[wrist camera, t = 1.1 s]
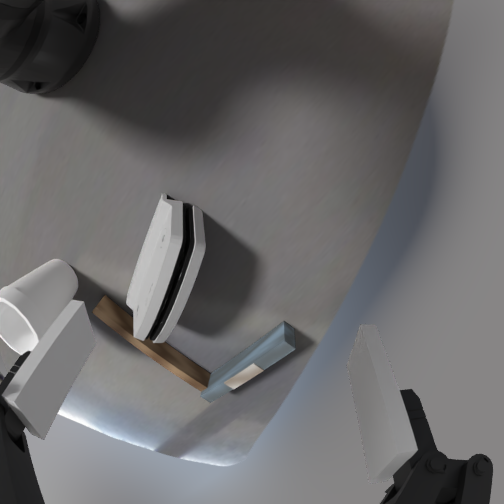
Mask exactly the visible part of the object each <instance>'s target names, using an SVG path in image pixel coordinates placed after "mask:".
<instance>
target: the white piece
mask: <svg viewBox="0 0 504 504" xmlns="http://www.w3.org/2000/svg"><path fill="white" fill-rule="evenodd" d="M205 249H206V243H205V233H204V223H203V213H202V210H201V209H199V208H198V207H196V206H194V205H193V207H192V208H190V207H189V209H188V211H187V213H185V206H184V205H183V201H176V200H169V199H167V194H164V193H162V196H161V198H160V201H159V204H158V206H157V209H156V211H155V214H154V217H153V219H152V222H151V225H150V228H149V230H148V233H147V236H146V239H145V242H144V245H143V247H142V250H141V253H140V256H139V259H138V262H137V265H136V268H135V271H134V275H133V278H132V281H131V284H130V287H129V291H128V294H127V301H126V304H127V305H128V306H129V307H130V308H131V309H132V310H133V328H134V337H135V338H137V339H140V340H142V341H144V340H145V339H148V338H149V336H150V340H152V341H153V343H164V342H165V340H166V339H167V338H168V337H169V335H170V334H171V332H172V330H173V329H174V327H175V325H176V323H177V321H178V319H179V317H180V315H181V314H182V311H183V309H184V307H185V305H186V302H187V300H188V297H189V295H190V293H191V290H192V288H193V285H194V282H195V280H196V277H197V274H198V271H199V268H200V265H201V262H202V259H203V256H204V254H205Z"/></svg>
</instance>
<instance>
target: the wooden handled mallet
mask: <svg viewBox="0 0 504 504" xmlns="http://www.w3.org/2000/svg"><path fill="white" fill-rule="evenodd" d="M92 313H93V314H95V315H96V316H97V317H98V318H99V319H101V320H102V321H103V322H104V323H106V324H107V325H108V326H109V327H111V328H112V329H113V330H114V331H116V332H117V333H118V334H119V335H121V336H122V337H123V338H125V339H126V340H127V341H129V342H130V343H131V344H132V345H134V346H135V347H137V348H138V349H139V350H141V351H142V352H143V353H145V354H146V355H147V356H149V357H150V358H152V359H153V360H154V361H156V362H157V363H159V364H160V365H162V366H163V367H165V368H166V369H167V370H169V371H170V372H172V373H173V374H175V375H176V376H178V377H179V378H181V379H182V380H184V381H186V382H187V383H189V384H190V385H192V386H193V387H195V388H196V389H198V390H200V391H201V396H200V397H202V398H204V399H205V400H207V401H209V402H210V403H211V402H213V401H214V400H216V399H218V398H220V397H221V396H223V395H225V394H226V393H228V392H230V391H231V390H233V389H235V388H237V387H239V386H240V385H242V384H243V383H245V382H247V381H248V380H250V379H251V378H253V377H255V376H256V375H258V374H259V373H261V372H262V371H264V370H265V369H267V368H268V367H270V366H271V365H273V364H274V363H276V362H277V361H279V360H280V359H282V358H283V357H285V356H286V355H288V354H289V353H291V352H292V351H294V350H295V349H296V348H295V334H294V329H293V328H292V327H291V326H290V325H288V324H287V323H286V322H285V321H283V322H282V323H281V324H279V325H278V326H277V327H275V328H274V329H273V330H271V331H270V332H269V333H267V334H266V335H265V336H263V337H262V338H260V339H259V340H258V341H256V342H255V343H254V344H252V345H251V346H249V347H248V348H247V349H245V350H244V351H242V352H241V353H240V354H238V355H237V356H235V357H234V358H233V359H231V360H230V361H228V362H227V363H225V364H224V365H223V366H221V367H220V368H218V369H217V370H215V371H214V372H212V373H211V374H210V373H209V372H207V371H206V370H204V369H203V368H201V367H200V366H198V365H197V364H195V363H194V362H192V361H191V360H189V359H188V358H187V357H185V356H184V355H182V354H181V353H179V352H178V351H177V350H175V349H174V348H172V347H171V346H170V345H168V344H167V343H166V342H164V343H153V341H152V340H150V336H149V338H148V339H145V340H144V341H142V340H140V339H137V338H135V337H134V328H133V317H131V316H130V315H129V314H128V313H126V312H125V311H124V310H123V309H122V308H120V307H119V306H118V305H117V304H115V303H114V302H113V301H112V300H111V299H109V298H108V297H107V296H106V295H105V296H104V297H103V298H102V299H101V301H100V302H99V303H98V305H97V306H96V307H95V309H94V310H93V311H92Z"/></svg>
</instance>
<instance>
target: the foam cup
mask: <svg viewBox="0 0 504 504" xmlns="http://www.w3.org/2000/svg"><path fill="white" fill-rule="evenodd" d="M77 289H78V278H77V276H76V274H75V272H74V270H73V269H72V268H71V267H70V266H69V265H68V264H67V263H66V262H64V261H62V260H60V259H52V260H50V261H49V262H47V263H45V264H43V265H42V266H40V267H38V268H37V269H35V270H33V271H32V272H30V273H28V274H27V275H25V276H23V277H22V278H20V279H18V280H17V281H15V282H14V283H12V284H10V285H9V286H7V287H3V288H2V289H1V290H0V337H1V338H2V339H3V340H4V341H5V343H6V344H7V345H8V346H9V347H10V348H11V349H13V350H14V351H16V352H17V353H19V354H20V355H23V354H24V353H25V352H27V351H31V352H32V350H33V349H34V348H35V346H36V345H37V344H38V342H39V341H40V340H41V338H42V337H43V336H44V334H45V333H46V332H47V330H48V329H49V328H50V326H51V325H52V324H53V323H54V321H55V320H56V319H57V317H58V316H59V315H60V314H61V312H62V311H63V310H64V309H65V307H66V306H67V305H68V304H69V302H70V301H71V300H72V299H73V297H74V295H75V293H76V292H77Z"/></svg>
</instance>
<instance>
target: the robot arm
mask: <svg viewBox="0 0 504 504" xmlns="http://www.w3.org/2000/svg"><path fill="white" fill-rule="evenodd" d="M99 22H100V14H99V7H98V4H97V1H96V0H0V82H1V83H3V84H5V85H7V86H9V87H12V88H14V89H16V90H18V91H20V92H23V93H29V94H35V93H47V92H50V91H53V90H55V89H57V88H59V87H61V86H62V85H64V84H65V83H66V82H68V81H69V80H70V79H71V78H72V77H73V76H74V75H75V74H76V73H77V72H78V71H79V69H80V68H81V67H82V65H83V64H84V62H85V61H86V59H87V58H88V56H89V54H90V52H91V50H92V48H93V46H94V43H95V40H96V37H97V34H98V29H99ZM96 343H97V342H96V339H95V336H94V333H93V330H92V327H91V324H90V320H89V317H88V314H87V311H86V307H85V304H84V301H77V300H71V301H70V302H69V304H68V305H67V306H66V307H65V309H64V310H63V311H62V312H61V314H60V315H59V316H58V317H57V319H56V320H55V321H54V323H53V324H52V325H51V326H50V328H49V329H48V330H47V332H46V333H45V334H44V336H43V337H42V338H41V340H40V341H39V342H38V344H37V345H36V346H35V348H34V349H33V350H32V352H31V351H27V352H25V353H24V354H23V355H21V356H20V357H19V358H18V360H17V361H16V363H15V364H14V366H13V367H12V368H11V370H10V372H8V374H7V375H6V377H5V378H4V380H3V381H2V383H1V384H0V504H45V503H44V500H43V497H42V494H41V491H40V488H39V485H38V482H37V478H36V475H35V471H34V468H33V464H32V460H31V457H30V453H29V448H28V444H27V440H26V436H25V433H24V432H23V430H24V428H25V427H26V428H27V429H28V431H29V432H30V433H31V434H32V435H34V436H37V437H39V438H41V439H43V440H44V439H45V437H46V435H47V433H48V431H49V429H50V427H51V425H52V423H53V421H54V419H55V417H56V415H57V413H58V411H59V409H60V407H61V405H62V403H63V402H64V400H65V398H66V396H67V394H68V392H69V390H70V389H71V387H72V385H73V383H74V381H75V380H76V378H77V376H78V374H79V372H80V371H81V369H82V367H83V365H84V364H85V362H86V360H87V358H88V357H89V355H90V353H91V352H92V350H93V348H94V347H95V345H96ZM347 371H348V375H349V380H350V384H351V389H352V394H353V398H354V403H355V408H356V413H357V418H358V423H359V428H360V433H361V439H362V444H363V450H364V456H365V461H366V468H367V474H368V480H369V484H373V483H379V482H385V481H388V480H389V479H390V478H391V477H392V476H393V478H394V484H393V485H391V486H390V487H389V488H388V489H387V490H386V491H385V492H386V493H387V492H388V493H387V494H386V496H385V497H384V499H383V500H382V502H381V503H380V504H489V502H490V494H491V485H492V476H493V465H492V462H491V460H490V459H489V458H488V457H487V456H486V455H483V454H476V455H474V456H472V457H471V458H470V459H469V460H454V459H448V458H447V457H446V455H444V454H443V453H442V452H439V451H438V450H437V448H436V445H435V443H434V439H433V436H432V433H431V430H430V427H429V424H428V422H427V419H426V416H425V413H424V411H423V407H422V404H421V401H420V399H419V397H418V396H417V395H416V394H415V393H414V392H413V390H412V389H408V390H399V387H398V384H397V381H396V378H395V376H394V373H393V370H392V367H391V364H390V362H389V359H388V356H387V353H386V351H385V348H384V345H383V343H382V340H381V337H380V335H379V333H378V330H377V327H376V325H360V327H359V330H358V333H357V336H356V340H355V342H354V345H353V348H352V351H351V354H350V357H349V360H348V363H347Z"/></svg>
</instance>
